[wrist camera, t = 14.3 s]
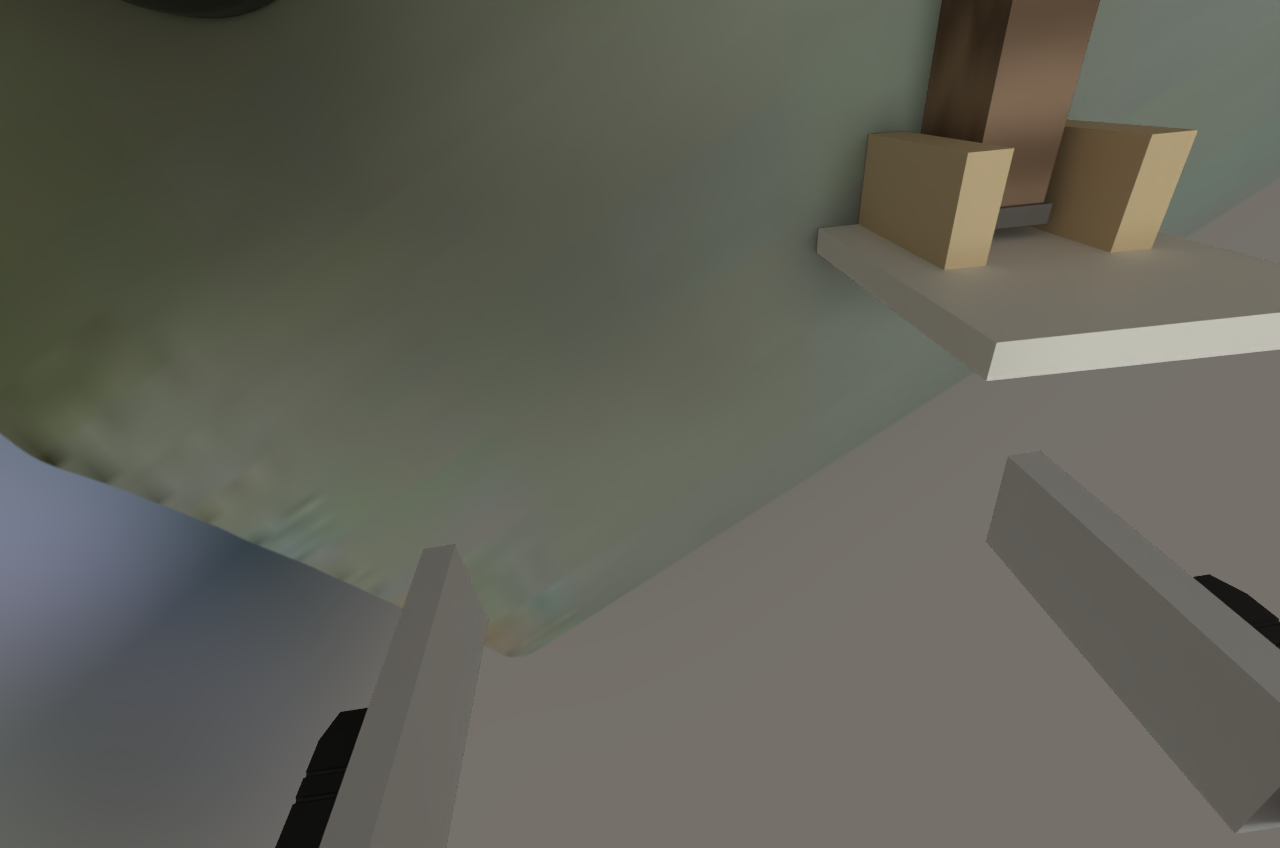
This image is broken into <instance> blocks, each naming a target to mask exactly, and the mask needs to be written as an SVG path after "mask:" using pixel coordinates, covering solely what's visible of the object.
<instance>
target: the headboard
mask: <svg viewBox="0 0 1280 848" xmlns="http://www.w3.org/2000/svg"><path fill="white" fill-rule="evenodd" d="M1197 131H1198V130H1193V129H1180V128H1167V127H1154V126H1142V125H1129V124H1116V123H1103V122H1091V121H1078V120H1067V121H1066V124H1065V128H1064V131H1063V135H1062V138H1061V142H1060V146H1059V149H1058V153H1057V156H1056V160H1055V164H1054V167H1053V171H1052V174H1051V178H1050V182H1049V185H1048V189H1047V192H1046V196H1045V199H1044V201H1046V202H1050V203H1053V205H1052V208H1051V212H1050V215H1049V219H1048V222H1047V224H1037V225H1028V226H1018V227H1009V228H999V229H995V226H996V222H997V218H998V214H999V210H1000V206H1001V202H1002V197H1003V193H1004V189H1005V185H1006V181H1007V177H1008V173H1009V169H1010V164H1011V160H1012V156H1013V152H1014V148H1010V147H1004V146H997V145H991V144H984V143H978V142H971V141H965V140H959V139H952V138H946V137H939V136H933V135H926V134H920V133H914V132H907V131H896V132H886V133H876V134H869V137H868V145H867V154H866V162H865V170H864V179H863V187H862V196H861V204H860V213H859V221H858V224H854V225H845V226H835V227H825V228H818V240H817V252H816V253H818V254H819V255H820V256H822V257H823V258H824V259H826V260H827V261H828V262H830V263H831V264H832V265H834V266H835V267H836V268H838V269H839V270H840V271H842V272H843V273H844V274H846V275H847V276H848V277H849V278H851V279H852V280H853V281H855V282H856V283H857V284H859V285H860V286H861V287H863V288H864V289H865V290H867V291H868V292H869V293H871V294H872V295H873V296H875V297H876V298H877V299H879V300H880V301H881V302H883V303H884V304H885V305H886V306H888V307H889V308H890V309H892V310H893V311H894V312H896V313H897V314H898V315H900V316H901V317H902V318H904V319H905V320H906V321H908V322H909V323H910V324H912V325H913V326H914V327H916V328H917V329H918V330H920V331H921V332H922V333H924V334H925V335H926V336H927V337H929V338H930V339H931V340H933V341H934V342H935V343H937V344H938V345H939V346H941V347H942V348H943V349H945V350H946V351H947V352H949V353H950V354H951V355H953V356H954V357H955V358H957V359H958V360H959V361H961V362H962V363H963V364H964V365H966V366H967V367H968V368H970V369H971V370H972V371H974V372H975V373H976V374H978V375H979V376H980V377H982V378H983V379H984V380H986V381H991V380H1000V379H1009V378H1017V377H1028V376H1037V375H1046V374H1056V373H1064V372H1074V371H1083V370H1093V369H1102V368H1111V367H1120V366H1129V365H1139V364H1148V363H1158V362H1167V361H1175V360H1185V359H1195V358H1203V357H1213V356H1222V355H1231V354H1241V353H1249V352H1259V351H1269V350H1277V349H1280V263H1277V262H1273V261H1269V260H1265V259H1262V258H1258V257H1254V256H1250V255H1247V254H1243V253H1239V252H1235V251H1231V250H1227V249H1224V248H1220V247H1216V246H1212V245H1209V244H1204V243H1201V242H1197V241H1193V240H1190V239H1186V238H1182V237H1178V236H1174V235H1170V234H1167V233H1163V232H1159V228H1160V226H1161V223H1162V221H1163V218H1164V216H1165V213H1166V210H1167V208H1168V205H1169V203H1170V200H1171V198H1172V195H1173V193H1174V190H1175V187H1176V185H1177V182H1178V180H1179V177H1180V175H1181V172H1182V170H1183V167H1184V164H1185V162H1186V159H1187V157H1188V154H1189V152H1190V149H1191V147H1192V144H1193V142H1194V139H1195V136H1196V134H1197Z"/></svg>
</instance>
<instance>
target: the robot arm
mask: <svg viewBox="0 0 1280 848" xmlns="http://www.w3.org/2000/svg"><path fill="white" fill-rule="evenodd" d="M122 1H124V2H127V3H130V4H133V5H136V6H139V7H143V8H147V9H151V10H155V11H160V12H166V13H172V14H178V15H184V16H191V17H199V18H223V17H231V16H236V15H241V14H245V13H248V12H251V11H254V10H256V9H259V8H261V7H263V6H265V5H267V4H268V3H270V2H272V1H273V0H122ZM986 542H987V543H988V545H989V546H990V547H991V548H992V549H993V550H994V552H996V554H997V555H998V556H999V557H1000V559H1001V560H1002V561H1003V562H1004V563H1005V565H1006V566H1007V567H1008V568H1009V569H1010V570H1011V571H1012V573H1013V574H1014V575H1015V576H1016V577H1017V579H1018V580H1019V581H1020V582H1021V583H1022V584H1023V586H1024V587H1025V588H1026V589H1027V590H1028V591H1029V593H1030V594H1031V595H1032V596H1033V597H1034V599H1035V600H1036V601H1037V602H1038V603H1039V604H1040V606H1041V607H1042V608H1043V609H1044V610H1045V611H1046V613H1047V614H1048V615H1049V616H1050V617H1051V619H1052V620H1053V621H1054V622H1055V623H1056V624H1057V626H1058V627H1059V628H1060V629H1061V630H1062V631H1063V633H1064V634H1065V635H1066V636H1067V637H1068V638H1069V640H1070V641H1071V642H1072V643H1073V644H1074V645H1075V647H1076V648H1077V649H1078V650H1079V651H1080V653H1081V654H1082V655H1083V656H1084V657H1085V658H1086V660H1087V661H1088V662H1089V663H1090V664H1091V665H1092V666H1093V668H1094V669H1095V670H1096V671H1097V672H1098V674H1099V675H1100V676H1101V677H1102V678H1103V679H1104V681H1105V682H1106V683H1107V684H1108V685H1109V687H1110V688H1111V689H1112V690H1113V691H1114V692H1115V694H1116V695H1117V696H1118V697H1119V698H1120V700H1121V701H1122V702H1123V703H1124V704H1125V705H1126V707H1127V708H1128V709H1129V710H1130V711H1131V712H1132V714H1133V715H1134V716H1135V717H1136V718H1137V719H1138V721H1139V722H1140V723H1141V724H1142V725H1143V726H1144V728H1145V729H1146V730H1147V731H1148V732H1149V734H1150V735H1151V736H1152V737H1153V738H1154V739H1155V741H1156V742H1157V743H1158V744H1159V745H1160V746H1161V747H1162V749H1163V750H1164V751H1165V752H1166V754H1167V755H1168V756H1169V757H1170V758H1171V759H1172V760H1173V762H1174V763H1175V764H1176V765H1177V766H1178V768H1179V769H1180V770H1181V771H1182V772H1183V773H1184V775H1185V776H1186V777H1187V778H1188V779H1189V780H1190V781H1191V783H1192V784H1193V785H1194V786H1195V788H1196V789H1197V790H1198V791H1199V792H1200V793H1201V794H1202V796H1203V797H1204V798H1205V799H1206V800H1207V802H1208V803H1209V804H1210V805H1211V806H1212V808H1213V809H1214V810H1215V811H1216V812H1217V813H1218V814H1219V816H1220V817H1221V818H1222V819H1223V820H1224V822H1225V823H1226V824H1227V825H1228V826H1229V827H1230V829H1231V830H1232V831H1233V832H1234V833H1235V834H1237V833H1243V832H1250V831H1257V830H1263V829H1270V828H1276V827H1280V622H1279V619H1278V618H1277V617H1276V616H1275V615H1273V614H1272V613H1271V612H1269V611H1268V610H1267V609H1266V608H1264V607H1263V606H1262V605H1261V604H1259V603H1258V602H1257V601H1256V600H1254V599H1253V598H1252V597H1250V596H1249V595H1248V594H1246V593H1244V592H1242V591H1240V590H1239V589H1237V588H1235V587H1233V586H1231V585H1229V584H1227V583H1225V582H1223V581H1221V580H1219V579H1217V578H1215V577H1213V576H1211V575H1203V576H1197V577H1192V576H1191V575H1189V574H1188V573H1187V572H1186V571H1185V570H1183V569H1182V568H1181V567H1180V566H1179V565H1177V564H1176V563H1175V562H1174V561H1173V560H1171V559H1170V558H1169V557H1168V556H1167V555H1165V554H1164V553H1163V552H1162V551H1160V550H1159V549H1158V548H1157V547H1156V546H1155V545H1153V544H1152V543H1151V542H1150V541H1149V540H1147V539H1146V538H1145V537H1144V536H1143V535H1141V534H1140V533H1139V532H1138V531H1137V530H1135V529H1134V528H1133V527H1132V526H1130V525H1129V524H1128V523H1127V522H1126V521H1124V520H1123V519H1122V518H1121V517H1120V516H1118V515H1117V514H1116V513H1115V512H1114V511H1112V510H1111V509H1110V508H1109V507H1107V506H1106V505H1105V504H1104V503H1103V502H1102V501H1100V500H1099V499H1098V498H1097V497H1095V496H1094V495H1093V494H1092V493H1091V492H1090V491H1088V490H1087V489H1086V488H1085V487H1084V486H1082V485H1081V484H1080V483H1079V482H1077V481H1076V480H1075V479H1074V478H1073V477H1072V476H1070V475H1069V474H1068V473H1067V472H1065V471H1064V470H1063V469H1062V468H1060V467H1059V466H1058V465H1057V464H1056V463H1055V462H1053V461H1052V460H1051V459H1050V458H1049V457H1047V456H1046V455H1045V454H1044V453H1043V452H1041V451H1037V452H1030V453H1024V454H1018V455H1012V456H1008V458H1007V462H1006V466H1005V470H1004V474H1003V478H1002V481H1001V485H1000V489H999V493H998V497H997V501H996V505H995V508H994V512H993V516H992V520H991V524H990V528H989V532H988V535H987V539H986ZM487 625H488V618H487V615H486V613H485V611H484V609H483V606H482V604H481V602H480V599H479V597H478V595H477V592H476V590H475V588H474V586H473V583H472V581H471V579H470V576H469V574H468V572H467V569H466V567H465V565H464V563H463V560H462V558H461V556H460V553H459V551H458V549H457V546H456V544H453V545H447V546H440V547H434V548H428V549H423V552H422V555H421V558H420V561H419V564H418V566H417V569H416V572H415V575H414V578H413V581H412V584H411V586H410V589H409V592H408V595H407V598H406V601H405V604H404V606H403V609H402V612H401V615H400V618H399V621H398V624H397V626H396V629H395V632H394V635H393V638H392V641H391V644H390V646H389V649H388V652H387V655H386V658H385V661H384V664H383V666H382V670H381V672H380V675H379V678H378V681H377V684H376V686H375V689H374V692H373V695H372V698H371V701H370V704H369V706H368V708H364V709H358V710H351V711H344V712H340V713H339V714H338V716H337V717H336V718H335V720H334V721H333V722H332V724H331V725H330V726H329V728H328V729H327V730H326V732H325V733H324V734H323V736H322V737H321V738H320V740H319V741H318V744H317V747H316V749H315V751H314V754H313V756H312V759H311V761H310V764H309V766H308V768H307V771H306V773H307V775H306V778H303V781H302V783H301V786H300V788H299V791H298V793H297V795H296V803H295V804H293V805H292V808H291V810H290V813H289V815H288V818H287V820H286V823H285V825H284V828H283V830H282V833H281V835H280V838H279V840H278V842H277V845H276V847H275V848H446V847H447V842H448V836H449V831H450V825H451V820H452V814H453V809H454V803H455V798H456V793H457V788H458V782H459V777H460V771H461V766H462V760H463V755H464V750H465V744H466V739H467V734H468V728H469V723H470V717H471V711H472V706H473V701H474V696H475V690H476V685H477V680H478V674H479V669H480V663H481V658H482V653H483V647H484V642H485V636H486V631H487Z"/></svg>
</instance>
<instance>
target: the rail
mask: <svg viewBox="0 0 1280 848" xmlns="http://www.w3.org/2000/svg"><path fill="white" fill-rule="evenodd" d="M1099 2H1100V0H942V4H941V11H940V17H939V23H938V29H937V36H936V42H935V48H934V54H933V61H932V67H931V73H930V79H929V85H928V92H927V98H926V104H925V110H924V117H923V123H922V129H921V134H926V135H933V136H939V137H946V138H952V139H959V140H965V141H971V142H978V143H984V144H991V145H997V146H1004V147H1010V148H1014V152H1013V156H1012V160H1011V164H1010V169H1009V173H1008V177H1007V181H1006V185H1005V189H1004V193H1003V197H1002V202H1001V206H1000V210H999V214H998V218H997V222H996V226H995V229H999V228H1009V227H1018V226H1028V225H1037V224H1047V222H1048V219H1049V215H1050V212H1051V208H1052V205H1053V203H1050V202H1046V201H1044V199H1045V196H1046V192H1047V189H1048V185H1049V182H1050V178H1051V174H1052V171H1053V167H1054V164H1055V160H1056V156H1057V153H1058V149H1059V146H1060V142H1061V138H1062V135H1063V131H1064V128H1065V124H1066V121H1067V117H1068V113H1069V110H1070V106H1071V103H1072V99H1073V95H1074V92H1075V88H1076V85H1077V81H1078V77H1079V74H1080V70H1081V67H1082V63H1083V60H1084V56H1085V52H1086V49H1087V45H1088V42H1089V38H1090V34H1091V31H1092V27H1093V24H1094V20H1095V17H1096V13H1097V9H1098V6H1099Z"/></svg>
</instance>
